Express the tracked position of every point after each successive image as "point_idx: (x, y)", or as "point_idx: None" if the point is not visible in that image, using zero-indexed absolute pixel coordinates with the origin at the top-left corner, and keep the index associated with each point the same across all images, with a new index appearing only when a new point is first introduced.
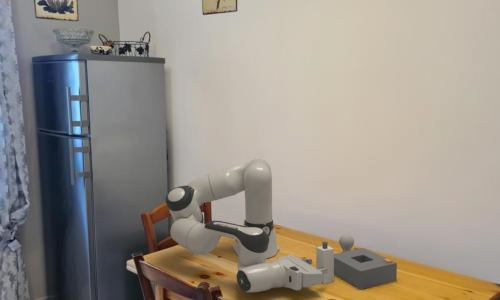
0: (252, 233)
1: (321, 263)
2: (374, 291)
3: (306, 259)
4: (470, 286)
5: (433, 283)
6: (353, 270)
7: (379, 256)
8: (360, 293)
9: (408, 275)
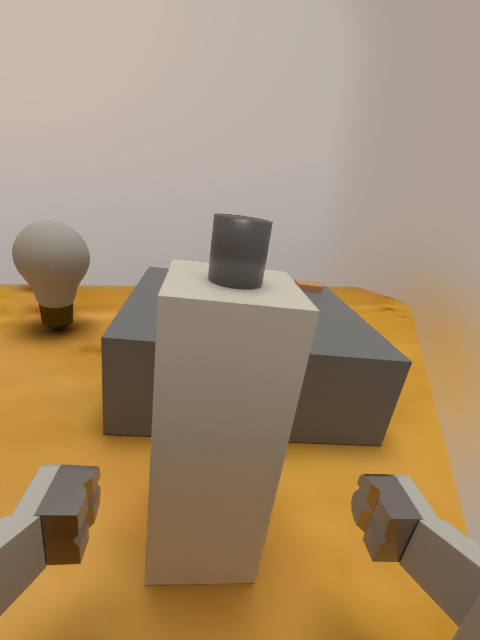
0: None
1: (253, 448)
2: (398, 416)
3: (35, 522)
4: (366, 300)
5: None
6: (350, 372)
7: None
8: (427, 467)
9: None
